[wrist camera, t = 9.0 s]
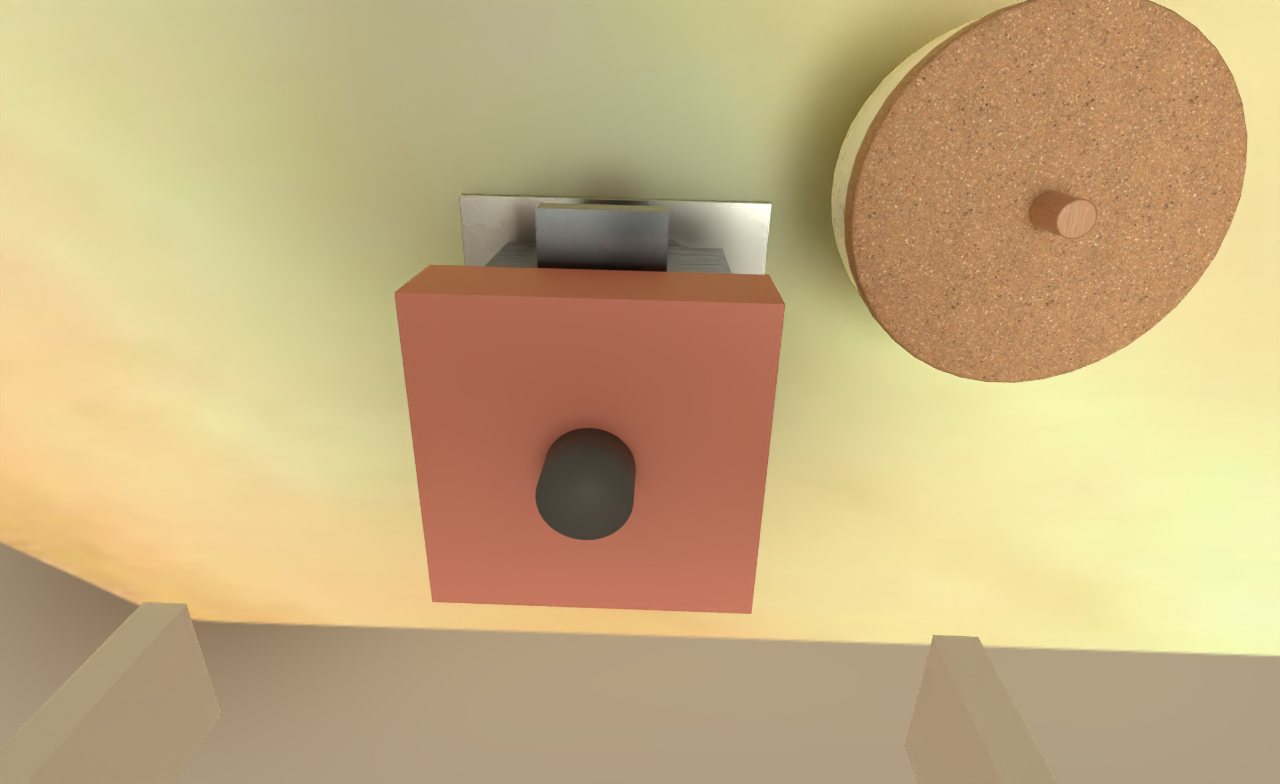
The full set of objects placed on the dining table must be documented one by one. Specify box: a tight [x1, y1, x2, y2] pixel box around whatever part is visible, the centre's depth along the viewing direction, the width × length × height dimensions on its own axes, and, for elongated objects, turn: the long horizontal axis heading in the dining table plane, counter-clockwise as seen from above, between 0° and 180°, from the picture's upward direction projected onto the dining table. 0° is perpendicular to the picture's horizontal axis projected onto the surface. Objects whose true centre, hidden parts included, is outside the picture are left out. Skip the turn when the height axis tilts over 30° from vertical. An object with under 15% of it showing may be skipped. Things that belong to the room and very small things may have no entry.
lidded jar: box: [831, 0, 1247, 383], centre depth 22 cm, size 11×11×9 cm
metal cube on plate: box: [460, 194, 771, 275], centre depth 26 cm, size 13×12×8 cm
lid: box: [395, 265, 785, 614], centre depth 21 cm, size 10×10×5 cm
